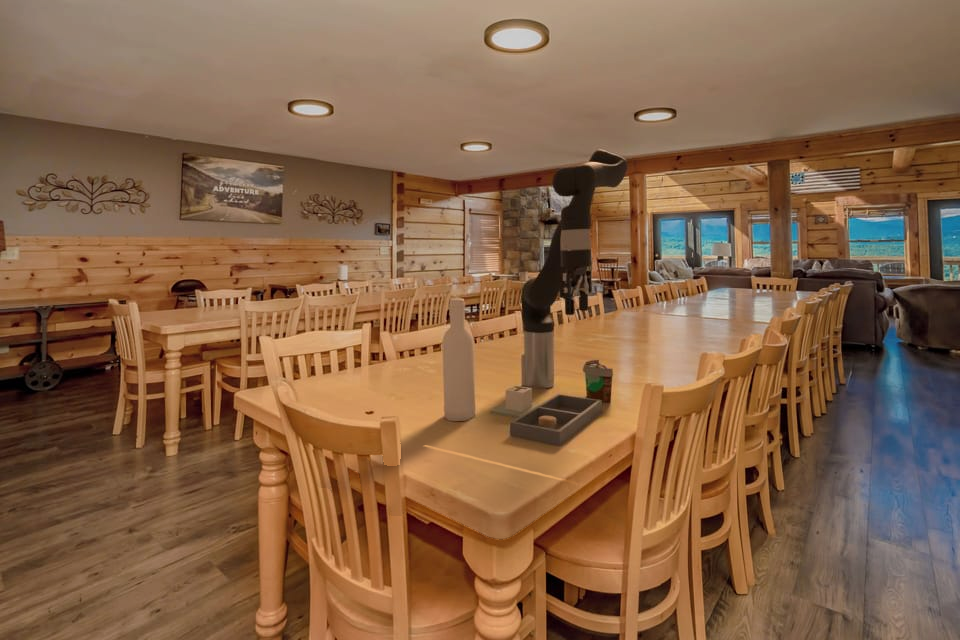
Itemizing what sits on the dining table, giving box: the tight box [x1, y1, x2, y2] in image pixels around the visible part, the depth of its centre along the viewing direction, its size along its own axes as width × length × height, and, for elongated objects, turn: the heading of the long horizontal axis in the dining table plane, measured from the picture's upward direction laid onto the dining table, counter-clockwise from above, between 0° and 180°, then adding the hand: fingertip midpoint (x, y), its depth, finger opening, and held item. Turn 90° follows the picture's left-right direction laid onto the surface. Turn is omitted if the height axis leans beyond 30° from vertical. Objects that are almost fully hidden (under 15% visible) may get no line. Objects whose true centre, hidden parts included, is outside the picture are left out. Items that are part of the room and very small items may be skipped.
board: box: [489, 401, 541, 419], centre depth 127 cm, size 11×11×1 cm
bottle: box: [442, 297, 476, 422], centre depth 122 cm, size 8×8×30 cm
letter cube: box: [505, 385, 533, 412], centre depth 127 cm, size 5×5×5 cm
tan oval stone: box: [539, 416, 556, 430], centre depth 112 cm, size 4×4×3 cm
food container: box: [582, 359, 614, 404], centre depth 136 cm, size 12×6×10 cm, turn 5°
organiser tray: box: [509, 393, 603, 447], centre depth 117 cm, size 12×26×4 cm, turn 147°
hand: (576, 312), depth 125 cm, fingers open, 8 cm apart
